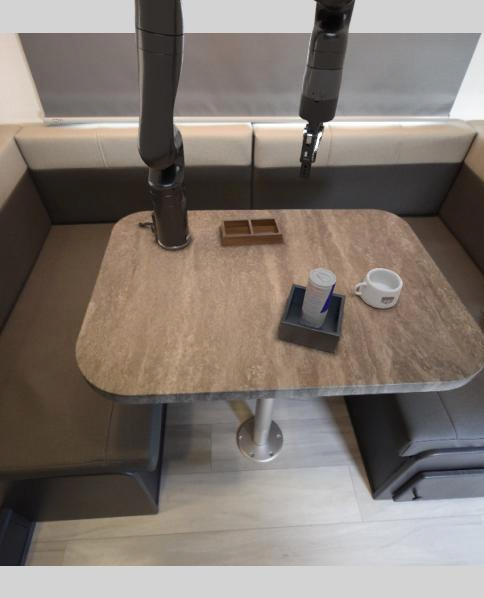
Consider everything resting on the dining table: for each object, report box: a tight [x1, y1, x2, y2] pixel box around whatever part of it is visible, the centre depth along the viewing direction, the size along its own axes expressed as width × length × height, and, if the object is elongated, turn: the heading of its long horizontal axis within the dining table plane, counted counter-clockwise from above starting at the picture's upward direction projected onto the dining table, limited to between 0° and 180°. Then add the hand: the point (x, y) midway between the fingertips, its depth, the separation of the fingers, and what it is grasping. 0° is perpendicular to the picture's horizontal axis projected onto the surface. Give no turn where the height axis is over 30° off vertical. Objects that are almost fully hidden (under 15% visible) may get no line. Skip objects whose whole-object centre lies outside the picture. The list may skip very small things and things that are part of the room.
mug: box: [352, 267, 404, 310], centre depth 88 cm, size 12×10×6 cm
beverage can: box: [299, 267, 337, 329], centre depth 77 cm, size 6×6×15 cm
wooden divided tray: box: [220, 216, 283, 246], centre depth 106 cm, size 9×17×3 cm, turn 97°
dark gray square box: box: [277, 283, 346, 354], centre depth 81 cm, size 13×13×6 cm
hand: (307, 169), depth 82 cm, fingers open, 8 cm apart
